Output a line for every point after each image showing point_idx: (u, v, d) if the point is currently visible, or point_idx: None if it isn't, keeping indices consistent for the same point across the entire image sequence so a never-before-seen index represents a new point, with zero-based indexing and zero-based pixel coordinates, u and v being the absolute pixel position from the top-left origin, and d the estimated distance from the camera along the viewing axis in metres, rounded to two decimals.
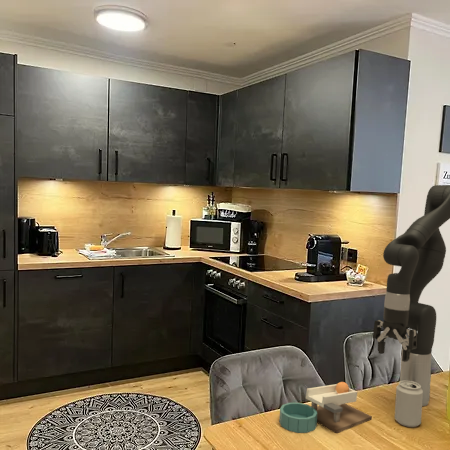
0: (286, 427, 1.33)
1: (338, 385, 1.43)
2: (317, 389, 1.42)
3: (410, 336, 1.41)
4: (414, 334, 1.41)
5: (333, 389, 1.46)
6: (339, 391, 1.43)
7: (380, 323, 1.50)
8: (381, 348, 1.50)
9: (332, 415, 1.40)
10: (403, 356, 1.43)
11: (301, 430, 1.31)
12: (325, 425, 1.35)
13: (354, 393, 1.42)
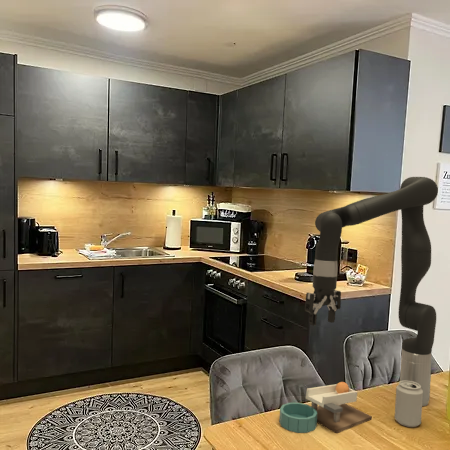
0: (286, 427, 1.33)
1: (338, 385, 1.43)
2: (317, 389, 1.42)
3: (339, 297, 1.51)
4: None
5: (333, 389, 1.46)
6: (339, 391, 1.43)
7: None
8: None
9: (332, 415, 1.40)
10: (333, 318, 1.51)
11: (301, 430, 1.31)
12: (325, 425, 1.35)
13: (354, 393, 1.42)
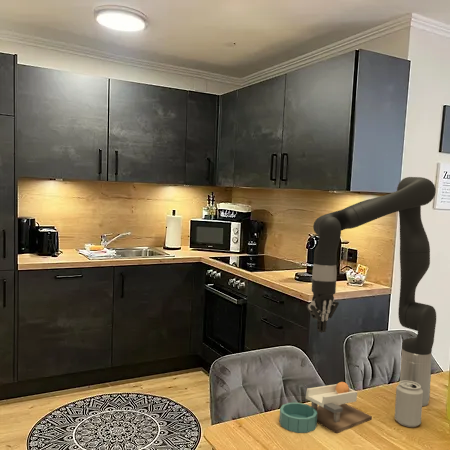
0: (286, 427, 1.33)
1: (338, 385, 1.43)
2: (317, 389, 1.42)
3: (335, 307, 1.49)
4: None
5: (333, 389, 1.46)
6: (339, 391, 1.43)
7: (313, 304, 1.44)
8: None
9: (332, 415, 1.40)
10: (325, 327, 1.47)
11: (301, 430, 1.31)
12: (325, 425, 1.35)
13: (354, 393, 1.42)
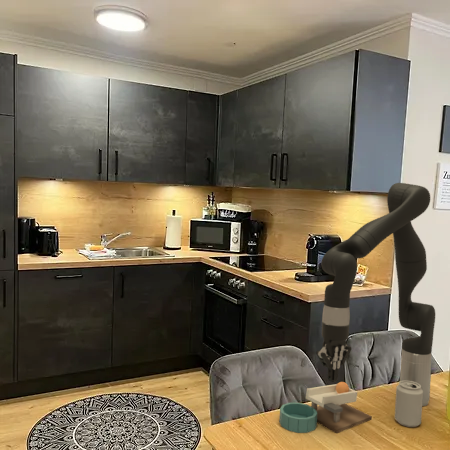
0: (286, 427, 1.33)
1: (338, 385, 1.43)
2: (317, 389, 1.42)
3: (347, 352, 1.34)
4: None
5: (333, 389, 1.46)
6: (339, 391, 1.43)
7: (324, 351, 1.29)
8: None
9: (332, 415, 1.40)
10: (336, 376, 1.32)
11: (301, 430, 1.31)
12: (325, 425, 1.35)
13: (354, 393, 1.42)
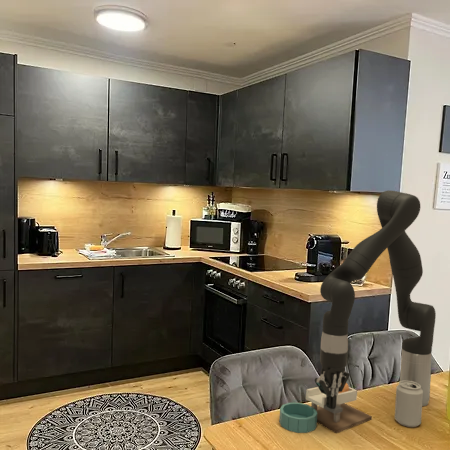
0: (286, 427, 1.33)
1: None
2: (317, 389, 1.41)
3: (346, 379, 1.34)
4: None
5: None
6: None
7: (322, 378, 1.29)
8: None
9: (332, 415, 1.40)
10: (335, 403, 1.32)
11: (301, 430, 1.31)
12: (325, 425, 1.35)
13: (354, 392, 1.42)
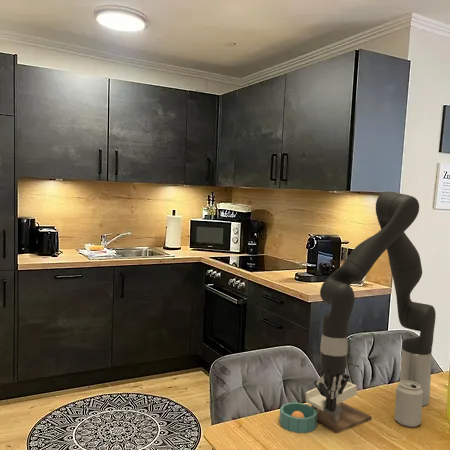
0: (286, 427, 1.33)
1: None
2: (316, 390, 1.41)
3: (345, 381, 1.34)
4: None
5: None
6: None
7: (322, 381, 1.29)
8: None
9: None
10: (334, 405, 1.32)
11: (301, 430, 1.31)
12: (325, 425, 1.35)
13: (353, 388, 1.42)
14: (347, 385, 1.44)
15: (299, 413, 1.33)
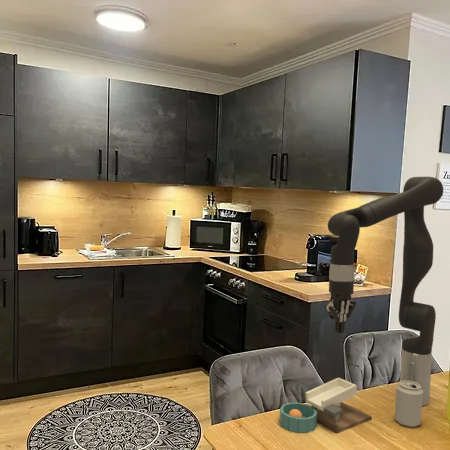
0: (286, 427, 1.33)
1: None
2: (316, 390, 1.41)
3: (353, 307, 1.46)
4: None
5: (333, 385, 1.46)
6: None
7: (331, 305, 1.41)
8: None
9: None
10: (343, 328, 1.44)
11: (301, 430, 1.31)
12: (325, 425, 1.35)
13: (353, 387, 1.42)
14: (347, 385, 1.44)
15: (294, 409, 1.35)
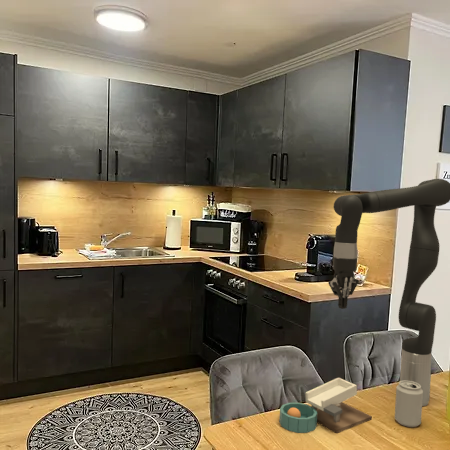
0: (286, 427, 1.33)
1: None
2: (316, 390, 1.41)
3: (355, 284, 1.54)
4: None
5: (333, 385, 1.46)
6: None
7: (335, 281, 1.49)
8: None
9: None
10: (346, 303, 1.52)
11: (301, 430, 1.31)
12: (325, 425, 1.35)
13: (353, 387, 1.42)
14: (347, 385, 1.44)
15: None
